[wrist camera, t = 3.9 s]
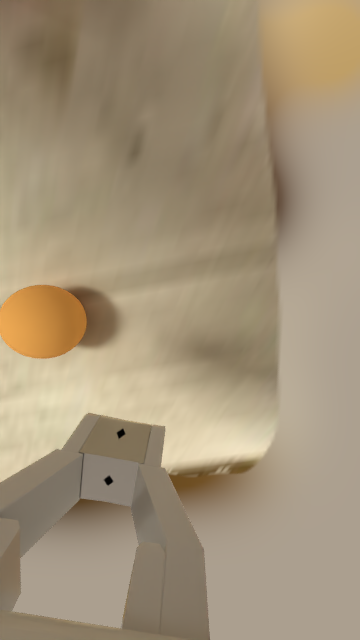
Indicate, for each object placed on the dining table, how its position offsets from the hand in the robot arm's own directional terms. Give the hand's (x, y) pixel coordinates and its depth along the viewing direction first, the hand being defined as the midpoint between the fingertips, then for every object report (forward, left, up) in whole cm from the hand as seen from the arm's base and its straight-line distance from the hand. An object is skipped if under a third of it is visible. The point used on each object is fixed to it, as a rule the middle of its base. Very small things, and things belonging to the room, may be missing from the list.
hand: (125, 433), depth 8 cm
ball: (-9, 0, -10) cm, 13 cm away
